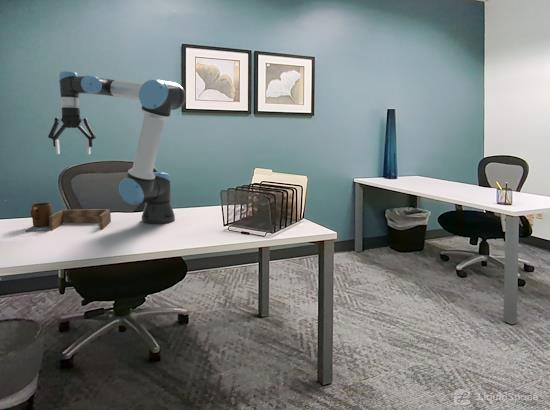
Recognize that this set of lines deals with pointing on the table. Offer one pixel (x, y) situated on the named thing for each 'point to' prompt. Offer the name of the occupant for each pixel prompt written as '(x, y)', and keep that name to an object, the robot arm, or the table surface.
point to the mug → (41, 214)
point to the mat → (38, 229)
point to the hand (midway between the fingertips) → (73, 154)
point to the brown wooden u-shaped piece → (80, 217)
